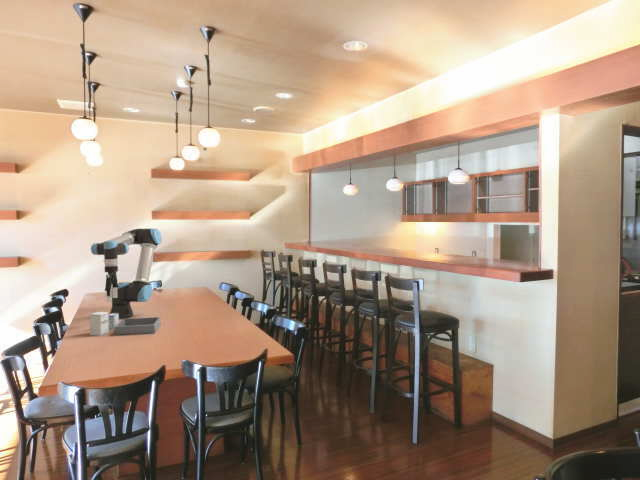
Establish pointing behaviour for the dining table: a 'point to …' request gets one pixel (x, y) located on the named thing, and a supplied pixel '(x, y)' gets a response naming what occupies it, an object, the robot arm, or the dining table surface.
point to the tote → (138, 326)
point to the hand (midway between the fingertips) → (112, 299)
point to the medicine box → (113, 320)
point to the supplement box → (99, 323)
